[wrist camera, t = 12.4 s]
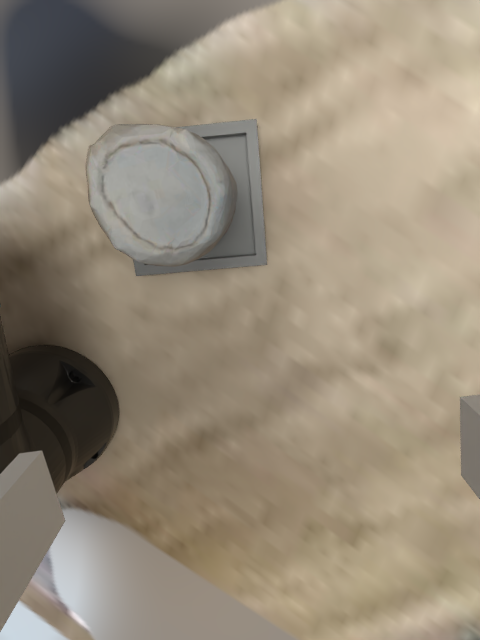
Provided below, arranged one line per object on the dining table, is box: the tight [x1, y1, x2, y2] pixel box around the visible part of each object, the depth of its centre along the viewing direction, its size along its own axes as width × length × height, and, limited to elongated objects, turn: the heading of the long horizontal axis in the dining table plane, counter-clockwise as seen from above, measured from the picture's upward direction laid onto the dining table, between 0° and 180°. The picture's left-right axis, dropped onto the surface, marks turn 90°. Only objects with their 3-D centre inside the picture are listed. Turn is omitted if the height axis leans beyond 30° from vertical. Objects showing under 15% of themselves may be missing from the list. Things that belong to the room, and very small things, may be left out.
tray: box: [133, 119, 267, 276], centre depth 39 cm, size 13×13×2 cm
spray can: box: [86, 124, 237, 267], centre depth 30 cm, size 8×8×20 cm
